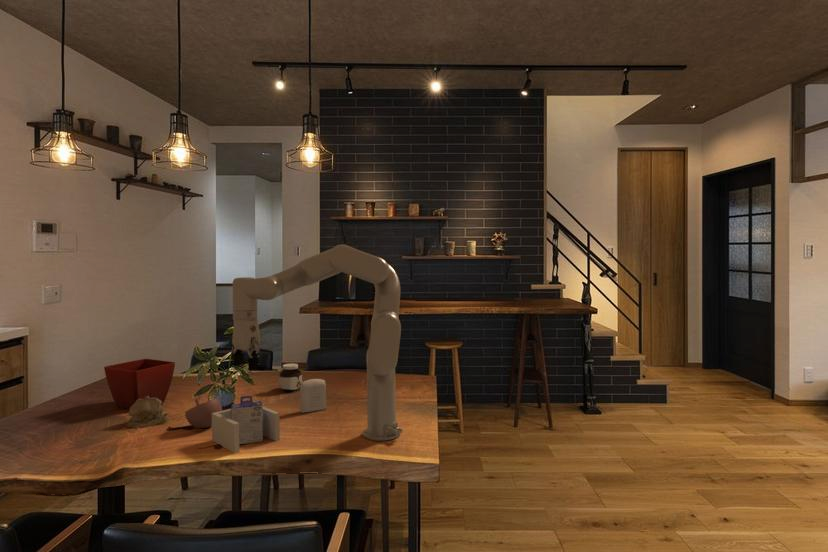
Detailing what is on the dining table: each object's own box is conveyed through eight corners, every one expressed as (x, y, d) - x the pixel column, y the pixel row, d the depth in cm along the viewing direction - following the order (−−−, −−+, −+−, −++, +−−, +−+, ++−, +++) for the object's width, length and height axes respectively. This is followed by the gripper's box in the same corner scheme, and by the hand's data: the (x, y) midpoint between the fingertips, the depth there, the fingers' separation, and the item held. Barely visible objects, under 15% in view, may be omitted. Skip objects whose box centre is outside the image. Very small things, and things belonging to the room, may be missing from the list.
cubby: (279, 439, 164) (279, 412, 164) (234, 453, 153) (234, 424, 153) (255, 428, 175) (255, 403, 175) (212, 440, 164) (211, 413, 164)
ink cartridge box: (262, 436, 168) (261, 393, 167) (263, 441, 163) (263, 397, 162) (231, 440, 164) (230, 396, 164) (231, 446, 159) (230, 401, 158)
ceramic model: (122, 430, 175) (121, 401, 175) (130, 420, 186) (129, 393, 186) (166, 425, 179) (165, 398, 179) (171, 416, 190) (170, 390, 190)
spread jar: (288, 394, 220) (288, 368, 220) (270, 390, 226) (270, 365, 226) (307, 388, 230) (307, 363, 230) (290, 385, 236) (289, 360, 236)
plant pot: (177, 401, 210) (176, 361, 210) (135, 414, 193) (134, 371, 192) (146, 396, 218) (145, 358, 218) (103, 408, 201) (102, 366, 200)
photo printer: (323, 406, 201) (322, 376, 200) (327, 409, 197) (327, 378, 197) (298, 411, 195) (298, 380, 195) (302, 414, 191) (302, 382, 191)
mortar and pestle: (203, 420, 185) (203, 389, 184) (229, 423, 180) (228, 392, 180) (177, 430, 174) (177, 398, 173) (204, 434, 169) (203, 401, 169)
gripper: (269, 316, 159) (270, 369, 159) (243, 312, 171) (244, 362, 171) (247, 318, 153) (248, 373, 154) (222, 314, 165) (222, 365, 166)
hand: (246, 367), depth 163 cm, fingers open, 9 cm apart
